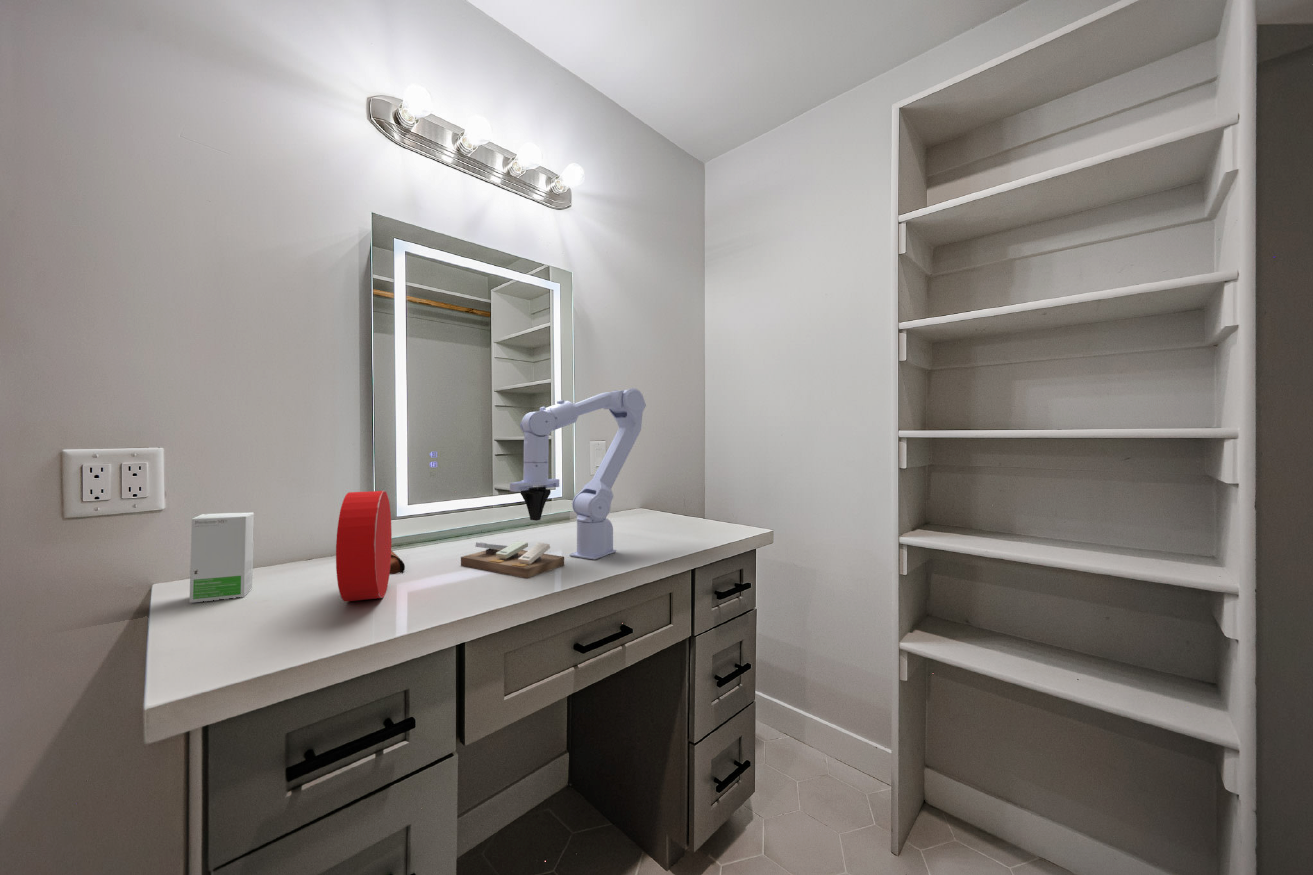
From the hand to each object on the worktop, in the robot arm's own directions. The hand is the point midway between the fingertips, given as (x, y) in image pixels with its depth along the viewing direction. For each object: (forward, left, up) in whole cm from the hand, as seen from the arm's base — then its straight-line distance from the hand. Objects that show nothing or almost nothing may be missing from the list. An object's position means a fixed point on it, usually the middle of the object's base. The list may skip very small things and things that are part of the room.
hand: (535, 519), depth 119 cm
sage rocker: (+4, -4, -7) cm, 9 cm away
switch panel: (+4, -4, -10) cm, 12 cm away
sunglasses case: (+20, -30, -11) cm, 38 cm away
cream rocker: (+4, +3, -7) cm, 8 cm away
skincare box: (+47, -36, -11) cm, 60 cm away
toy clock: (+34, -11, -11) cm, 37 cm away
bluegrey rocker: (+4, -11, -7) cm, 13 cm away
